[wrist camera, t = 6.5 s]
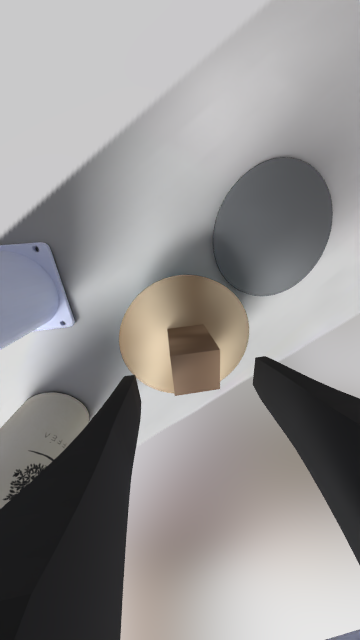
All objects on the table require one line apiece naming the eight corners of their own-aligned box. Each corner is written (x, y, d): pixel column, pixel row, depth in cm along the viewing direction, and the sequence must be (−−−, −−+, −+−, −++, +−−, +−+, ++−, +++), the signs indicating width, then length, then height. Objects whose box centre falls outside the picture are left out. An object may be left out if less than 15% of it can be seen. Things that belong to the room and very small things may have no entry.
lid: (134, 394, 16) (124, 446, 12) (107, 281, 12) (77, 295, 8) (241, 378, 17) (270, 421, 13) (248, 268, 13) (294, 273, 9)
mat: (213, 300, 18) (215, 301, 18) (212, 164, 14) (214, 160, 14) (312, 289, 19) (317, 290, 19) (340, 158, 15) (347, 154, 15)
